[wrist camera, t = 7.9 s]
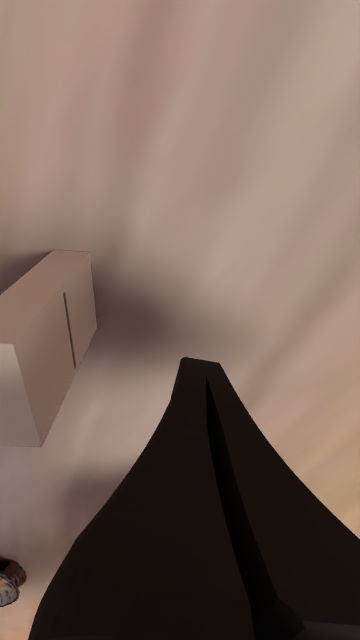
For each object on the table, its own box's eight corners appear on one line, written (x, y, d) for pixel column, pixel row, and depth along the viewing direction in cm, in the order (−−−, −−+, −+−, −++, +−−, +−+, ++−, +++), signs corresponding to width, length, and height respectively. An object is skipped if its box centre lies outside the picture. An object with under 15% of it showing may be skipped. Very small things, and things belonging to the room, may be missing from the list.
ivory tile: (97, 327, 15) (41, 447, 9) (65, 325, 15) (-11, 444, 9) (90, 252, 13) (13, 344, 7) (53, 249, 13) (-54, 340, 7)
